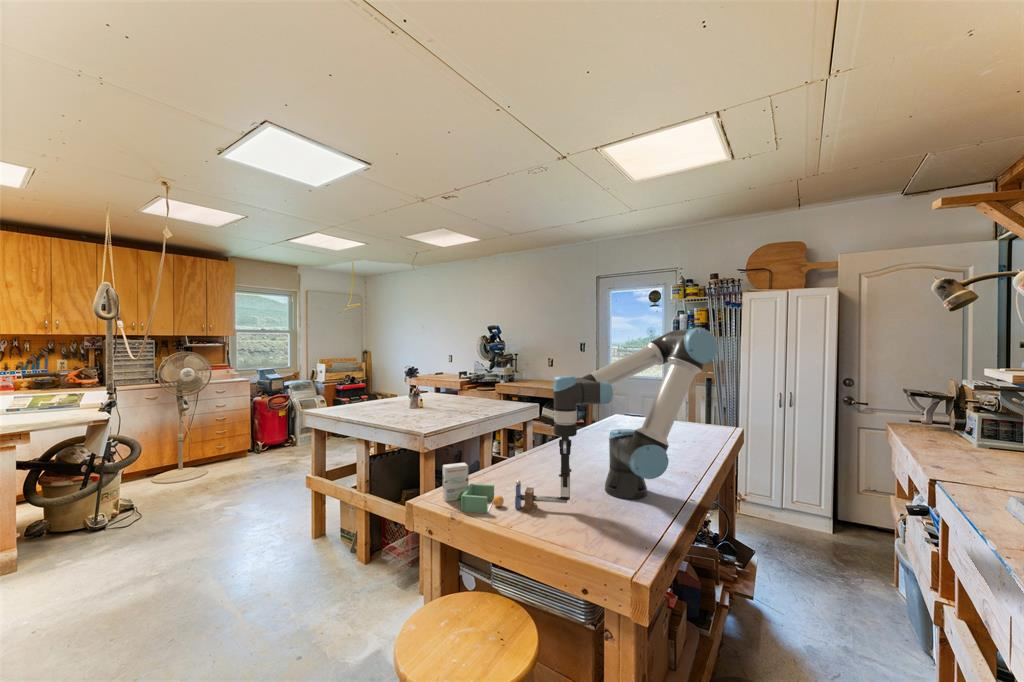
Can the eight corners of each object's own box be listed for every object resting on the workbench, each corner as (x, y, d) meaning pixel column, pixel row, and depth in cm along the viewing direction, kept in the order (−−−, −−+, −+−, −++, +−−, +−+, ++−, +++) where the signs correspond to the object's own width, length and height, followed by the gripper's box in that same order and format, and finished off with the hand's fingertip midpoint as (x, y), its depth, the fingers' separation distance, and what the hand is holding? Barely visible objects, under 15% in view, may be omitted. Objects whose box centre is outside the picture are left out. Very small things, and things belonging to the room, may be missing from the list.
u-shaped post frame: (570, 508, 130) (570, 467, 130) (569, 512, 127) (569, 470, 127) (516, 504, 133) (516, 464, 133) (515, 508, 130) (515, 467, 130)
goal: (495, 499, 139) (495, 484, 139) (487, 513, 127) (487, 497, 127) (470, 497, 140) (470, 483, 140) (461, 511, 129) (461, 496, 129)
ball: (504, 504, 134) (504, 494, 134) (502, 508, 131) (502, 498, 131) (494, 503, 135) (494, 493, 135) (492, 508, 131) (492, 497, 131)
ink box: (465, 493, 144) (465, 461, 144) (468, 498, 140) (469, 465, 140) (442, 497, 141) (442, 464, 141) (445, 502, 136) (445, 468, 137)
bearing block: (536, 504, 134) (536, 486, 134) (534, 513, 127) (534, 494, 127) (524, 503, 135) (524, 485, 135) (522, 512, 128) (522, 493, 128)
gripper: (555, 418, 138) (555, 485, 138) (552, 427, 122) (552, 503, 122) (576, 418, 137) (576, 486, 136) (576, 428, 121) (576, 504, 120)
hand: (565, 494), depth 129 cm, fingers closed on u-shaped post frame, 3 cm apart
